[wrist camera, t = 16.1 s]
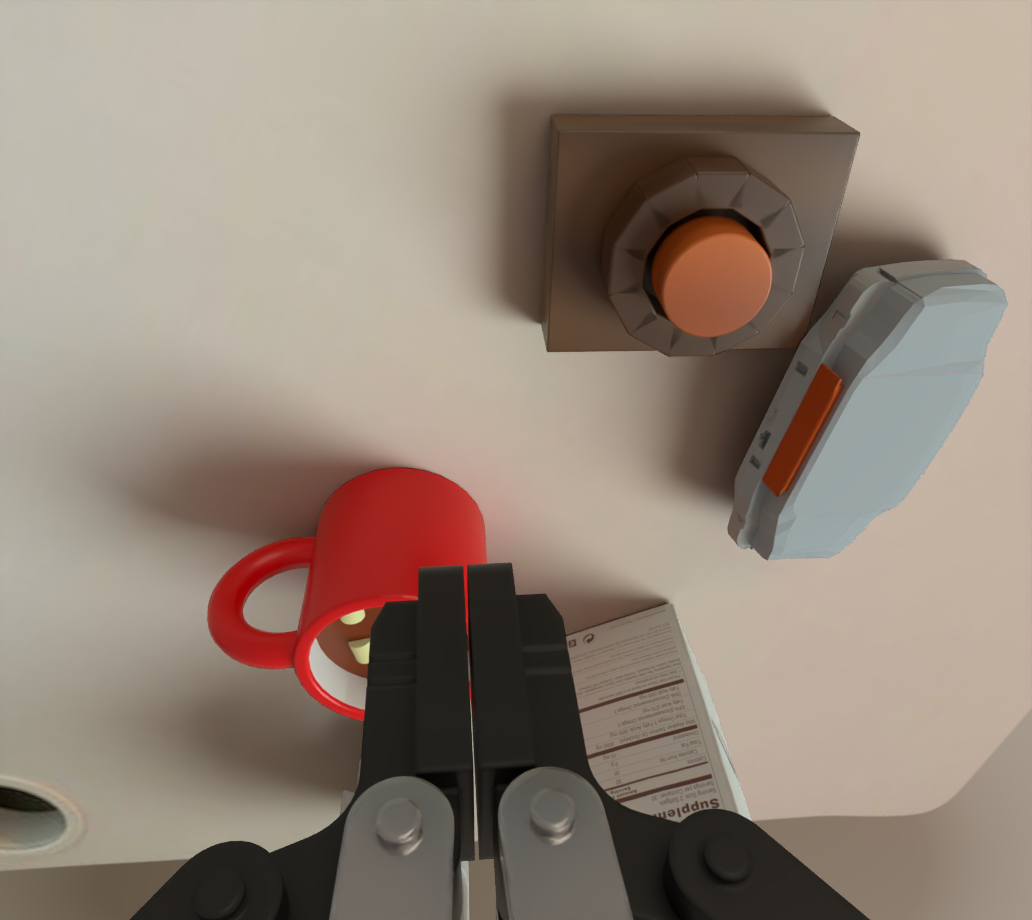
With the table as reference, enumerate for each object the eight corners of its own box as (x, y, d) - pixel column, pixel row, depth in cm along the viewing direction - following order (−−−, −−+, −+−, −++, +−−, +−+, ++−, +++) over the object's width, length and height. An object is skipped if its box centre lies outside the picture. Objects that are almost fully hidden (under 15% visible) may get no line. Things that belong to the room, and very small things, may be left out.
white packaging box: (707, 677, 46) (780, 904, 36) (587, 713, 47) (625, 942, 37) (675, 596, 42) (749, 828, 32) (544, 638, 43) (574, 874, 33)
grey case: (990, 257, 32) (841, 242, 28) (1051, 290, 29) (898, 279, 26) (828, 526, 40) (699, 539, 36) (867, 567, 38) (733, 585, 34)
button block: (550, 113, 27) (564, 146, 24) (835, 115, 28) (886, 147, 24) (541, 326, 32) (551, 377, 28) (783, 323, 32) (820, 372, 29)
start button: (657, 214, 26) (670, 234, 24) (766, 213, 26) (784, 233, 24) (644, 315, 28) (655, 339, 26) (744, 314, 28) (760, 337, 27)
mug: (209, 480, 35) (157, 613, 29) (479, 462, 35) (487, 589, 29) (251, 603, 40) (214, 741, 33) (489, 585, 40) (497, 718, 34)
